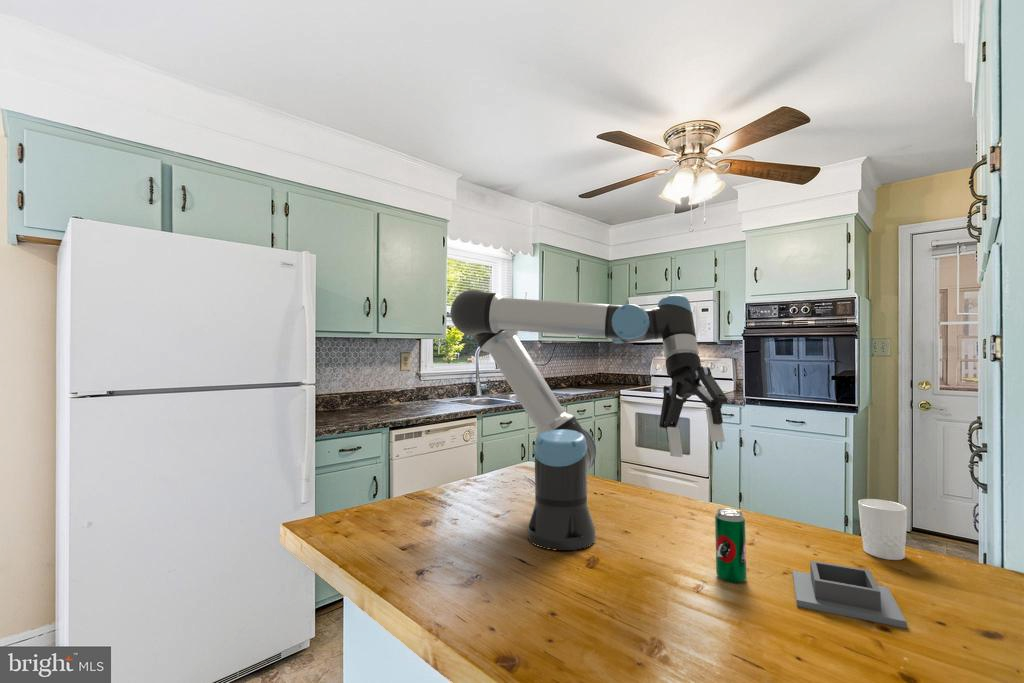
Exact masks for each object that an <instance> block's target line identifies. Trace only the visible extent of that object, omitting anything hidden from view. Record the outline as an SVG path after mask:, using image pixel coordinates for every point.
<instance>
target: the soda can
mask: <svg viewBox="0 0 1024 683" xmlns="http://www.w3.org/2000/svg"><path fill="white" fill-rule="evenodd" d="M743 515H744V513H743V511H741V510H738V509H733V508H728V507H727V508H725V507H724V508H718V509H717V511H716V514H715V515H714V526H715V529H714V530H715V531H714V532H715V537H714V538H715V573H716V575H717V576H718V578H719V579H720V580H722V581H724V582H726V583H732V584H741V583H744V582H745V581H746V580H747V575H748V574H747V546H746V544H747V542H746V540H747V538H746V536H747V534H746V533H747V532H746V519H745V517H744V516H743Z"/></svg>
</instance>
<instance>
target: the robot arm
mask: <svg viewBox="0 0 1024 683" xmlns="http://www.w3.org/2000/svg"><path fill="white" fill-rule="evenodd" d="M450 318H451V322H452V324H453V325H454V327H455V328H456V329H457V330H458V331H459V332H461V333H462V334H465V335H467V336H471V337H472V338H473V339H474V341H475V342H476V344H477V345H478V347H479V349H480V350H481V351H482V352H484V353H488V354H490V356H491V357H492V359H493V360H494V362H495V364H496V366H497V367H498V369H499V370H500V372H501V373H502V375H503V377H504V379H505V380H506V381H507V383H508V385H509V387H510V388H511V390H512V392H513V393H514V395H515V397H516V398H517V399H518V401H519V403H520V404H521V406H522V408H523V410H524V411H525V412H526V415H527V416H528V417H529V419H530V421H531V423H532V425H533V426H534V427H535V429H536V435H535V440H534V447H533V454H534V486H535V487H534V489H535V490H534V491H535V495H534V497H535V498H534V499H535V502H534V505H533V506H534V507H533V510H532V513H531V515H530V518H529V522H528V528H527V539H528V538H529V540H530V541H531V542H532V543H534V544H536V545H539V546H542V547H545V548H550V549H556V550H573V551H578V550H577V549H580V550H582V549H581V548H584V547H587V546H589V545H591V544H592V543H593V542H594V541H595V542H596V527H595V525H594V522H593V518H592V514H591V512H590V509H589V507H588V480H587V478H588V477H587V473H588V472H589V471H590V469H591V468H592V466H594V463H595V460H596V458H597V445H596V442H595V440H594V438H593V435H591V434H590V433H589V432H588V431H587V430H586V429H585V428H583V427H582V425H581V424H580V422H579V420H578V419H577V417H576V416H575V415H574V414H570V413H568V412H566V411H565V409H564V408H563V407H562V405H561V404H560V402H559V400H558V398H557V397H556V396H555V394H554V392H553V391H552V390H551V388H550V386H549V385H548V383H547V381H546V380H545V378H544V377H543V375H542V373H541V372H540V370H539V369H538V367H537V365H536V363H535V362H534V360H533V359H532V357H531V356H530V354H529V352H527V349H526V348H525V346H524V345H523V343H522V342H521V340H520V339H519V336H518V333H519V332H530V333H541V334H555V335H556V334H557V335H566V336H568V335H569V336H580V337H591V338H592V337H593V338H605V339H607V338H608V339H611V341H612V343H614V344H628V343H635V342H645V341H653V340H659V339H662V346H663V347H662V348H663V354H664V360H665V369H666V374H667V376H669V377H670V379H671V385H663V390H662V391H663V398H662V405H661V412H660V417H659V425H658V427H659V428H663V429H665V430H666V436H667V437H666V438H667V442H668V445H669V446H668V447H669V448H668V449H669V454H670V457H674V458H675V457H676V458H683V457H684V455H683V454H684V453H683V448H682V446H683V445H682V440H681V439H682V438H681V432H680V428H679V426H678V423H679V420H680V417H681V413H682V410H683V408H684V407H683V406H684V404H685V403H686V402H687V401H688V399H689V398H691V397H692V396H695V395H696V396H697V397H698V398H699V399H700V400H701V402H703V403H704V404H705V405H706V406H705V407H706V408H705V414H706V418H707V426H708V432H709V437H710V441H711V442H715V443H725V442H726V441H725V440H726V439H725V434H724V429H723V425H722V424H724V421H723V420H724V419H723V415H722V408H723V405H724V404H727V403H728V398H727V396H726V394H725V393H724V392H723V390H722V388H721V387H720V385H719V384H718V383H717V381H716V380H715V378H714V377H713V375H712V371H711V368H710V367H709V366H702V363H701V362H702V361H701V358H700V355H699V351H700V350H699V345H698V341H697V335H696V333H697V332H696V328H695V321H694V317H693V311H692V307H691V303H690V301H689V299H688V298H687V297H685V296H684V295H680V294H672V295H671V294H670V295H668V296H667V297H662V298H661V299H660V300H659V301H658V303H657V307H655V308H649V309H644V308H643V307H642V306H639V305H638V304H633V303H626V304H623V305H622V304H608V303H607V304H606V303H595V302H594V303H593V302H592V303H590V302H578V301H576V302H575V301H563V300H562V301H561V300H560V301H559V300H545V299H543V300H541V299H529V298H528V299H526V298H512V297H511V298H510V297H509V298H508V297H503V296H502V294H500V293H499V292H498V293H497V292H488V291H481V290H477V289H469V290H464V291H463V292H461V293H459V294H458V295H457V296H456V297H455V298H454V300H453V301H452V304H451V307H450ZM700 381H701V382H700ZM529 540H528V541H529ZM530 541H529V542H530ZM531 542H530V543H531ZM595 542H594V543H595ZM532 543H531V544H532ZM534 544H533V545H534ZM536 545H535V546H536ZM592 545H593V544H592ZM592 545H591V546H592ZM589 547H590V546H589ZM587 548H588V547H587ZM584 549H585V548H584Z"/></svg>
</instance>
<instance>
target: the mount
mask: <svg viewBox="0 0 1024 683" xmlns="http://www.w3.org/2000/svg"><path fill="white" fill-rule="evenodd" d="M809 562H810V564H809V566H810V573H808V572H803V571H798V570H792V579H793V587H794V594H795V596H794V597H795V602H796V607H799V608H803V609H804V608H805V609H810V610H814V611H820V612H825V613H829V614H835V615H838V616H839V615H840V616H845V617H847V618H854V619H859V620H864V621H869V622H873V623H878V624H884V625H889V626H893V627H899V628H902V629H907V620H906V618H905V616H904V614H903V613H902V611H901V609H900V607H899V606H898V604H897V601H896V600H895V598H894V596H893V594H892V592H891V591H890V588H889V587H888V586H883V585H880V584H879V585H878V584H877V582H876V580H875V577H874V575H873V574H872V571H871V570H870V569H866V568H860V567H855V566H847V565H842V564H835V563H828V562H824V561H823V562H822V561H817V560H816V561H815V560H810V561H809Z"/></svg>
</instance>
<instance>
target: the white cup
mask: <svg viewBox="0 0 1024 683" xmlns="http://www.w3.org/2000/svg"><path fill="white" fill-rule="evenodd" d="M857 503H858V514H859V515H858V516H859V524H860V533H861V534H860V535H861V539H862V549H863V551H864V552H865V553H867V554H868V555H871V556H873V557H876V558H879V559H884V560H891V561H902V560H903V559H906V543H907V520H908V519H907V518H908V517H907V514H908V513H907V512H908V508H907V506H905V505H903V504H902V503H898V502H894V501H890V500H885V499H878V498H876V499H875V498H862V499H859V500H858V501H857Z"/></svg>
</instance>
